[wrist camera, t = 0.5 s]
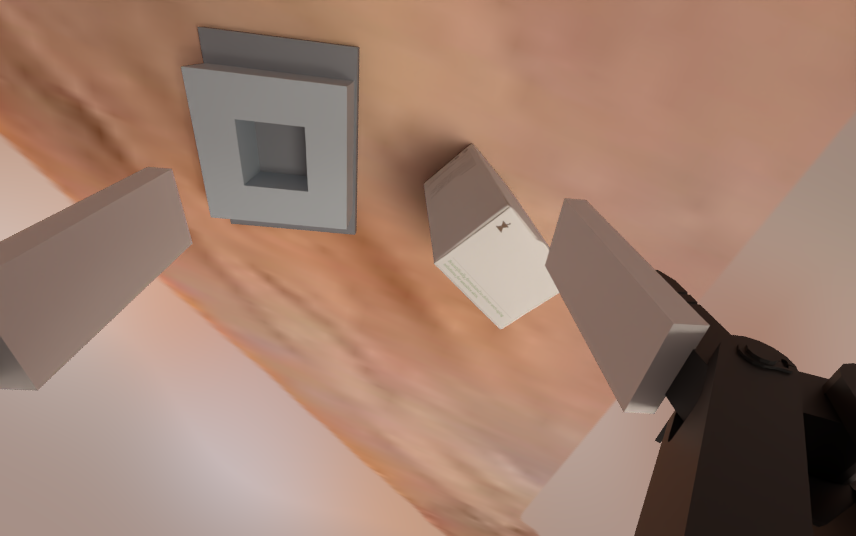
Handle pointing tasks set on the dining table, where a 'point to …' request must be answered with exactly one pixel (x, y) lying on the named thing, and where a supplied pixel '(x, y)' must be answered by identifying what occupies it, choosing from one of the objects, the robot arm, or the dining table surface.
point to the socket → (276, 129)
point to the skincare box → (486, 239)
